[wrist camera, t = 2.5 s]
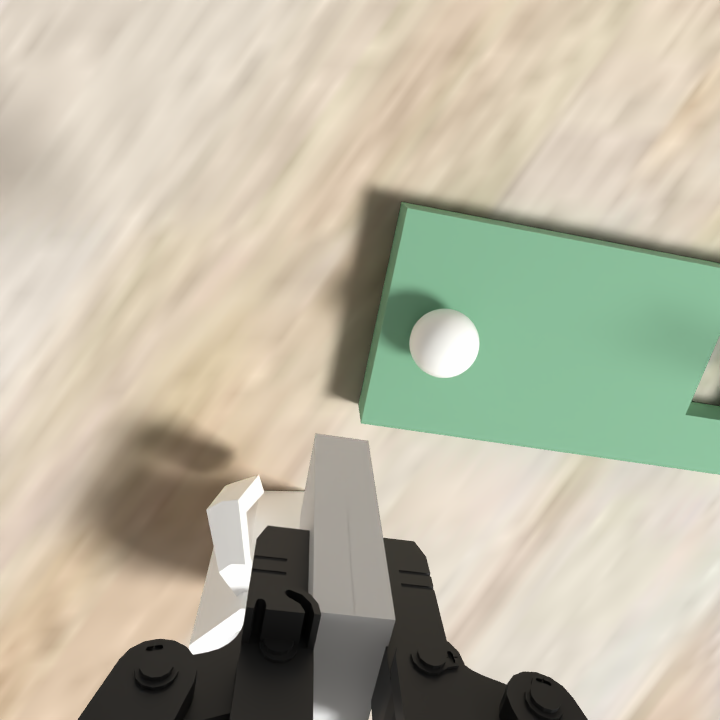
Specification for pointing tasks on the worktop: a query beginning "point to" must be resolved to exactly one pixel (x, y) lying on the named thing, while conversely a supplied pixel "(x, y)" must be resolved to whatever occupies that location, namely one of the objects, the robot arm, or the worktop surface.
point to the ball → (444, 343)
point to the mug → (237, 555)
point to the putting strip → (549, 341)
